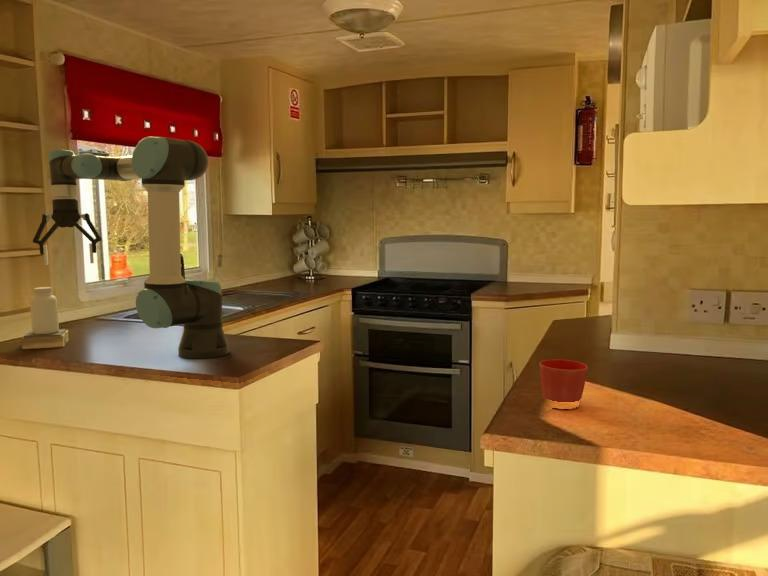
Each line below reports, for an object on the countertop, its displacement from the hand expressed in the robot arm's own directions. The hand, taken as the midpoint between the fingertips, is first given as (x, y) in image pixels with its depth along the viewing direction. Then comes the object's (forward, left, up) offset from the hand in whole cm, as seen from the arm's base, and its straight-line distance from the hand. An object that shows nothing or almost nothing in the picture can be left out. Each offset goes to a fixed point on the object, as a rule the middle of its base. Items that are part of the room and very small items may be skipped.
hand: (69, 264), depth 214 cm
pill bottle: (+3, +9, -23) cm, 25 cm away
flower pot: (-109, -117, -27) cm, 162 cm away
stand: (+3, +9, -27) cm, 28 cm away
